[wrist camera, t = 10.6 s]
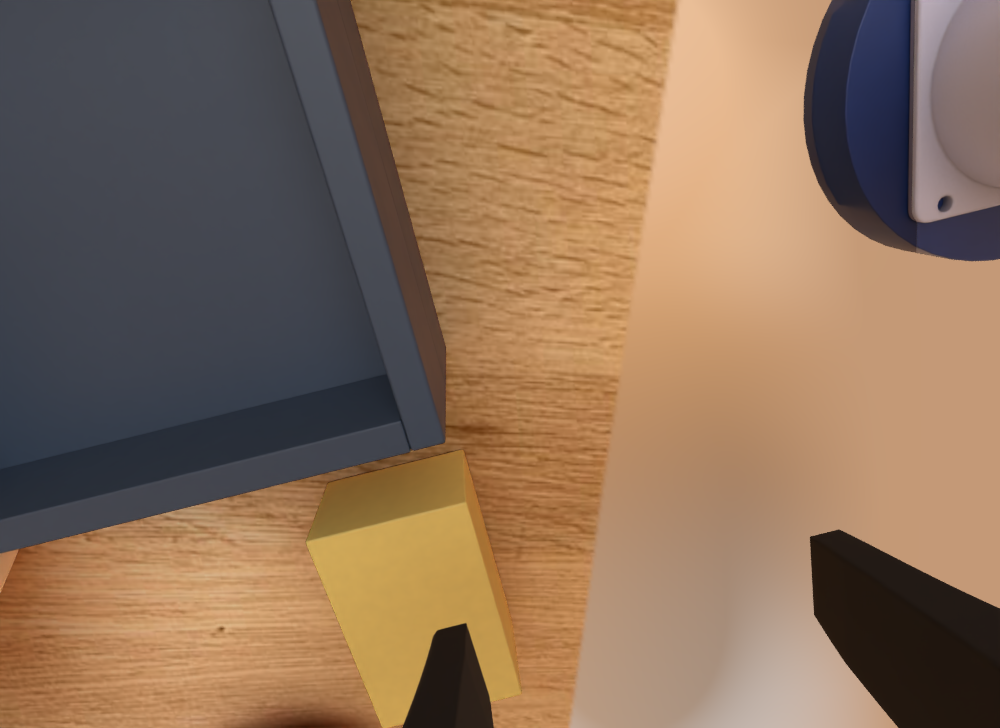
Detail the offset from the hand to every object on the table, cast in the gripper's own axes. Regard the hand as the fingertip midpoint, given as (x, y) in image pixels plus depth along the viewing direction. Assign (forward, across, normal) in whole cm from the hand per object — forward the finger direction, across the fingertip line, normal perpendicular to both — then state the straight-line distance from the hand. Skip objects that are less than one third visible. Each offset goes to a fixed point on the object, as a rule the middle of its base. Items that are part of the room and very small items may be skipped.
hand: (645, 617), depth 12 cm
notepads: (+9, +6, +4) cm, 12 cm away
